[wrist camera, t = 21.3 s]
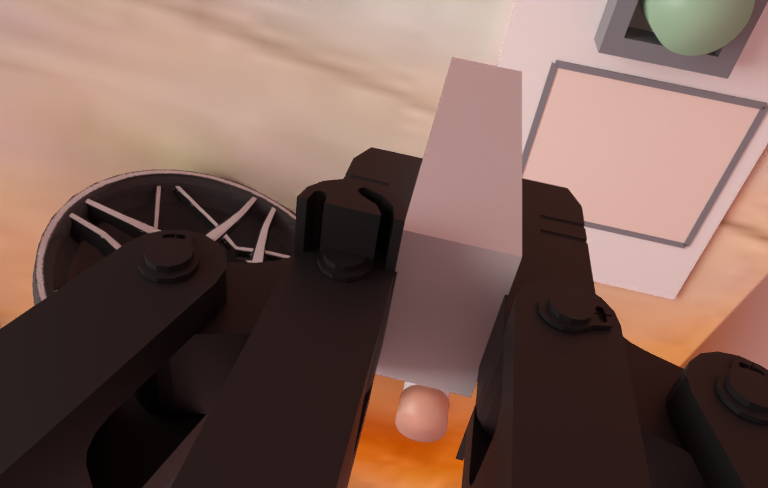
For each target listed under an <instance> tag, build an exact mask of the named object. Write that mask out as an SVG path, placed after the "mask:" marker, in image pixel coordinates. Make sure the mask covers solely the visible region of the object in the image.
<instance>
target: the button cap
mask: <svg viewBox="0 0 768 488" xmlns="http://www.w3.org/2000/svg"><path fill="white" fill-rule="evenodd" d="M754 3H755V0H640V7H641V10H642V13H643V15H644V17H645V19H646V20H647V22H648V23H649V25H650V27H651V28H652V30H653V32H654V33H655V35H656V36H657V38H658V40H659V41H660V42H661V43H662V45H663V46H665V47H666V48H667V49H669V50H670V51H672V52H674V53H677V54H680V55H686V56H697V55H703V54H708V53H710V52H713V51H716V50H718V49H720V48H722V47H723V46H725V45H726V44H728V43H729V42H731V41H732V40H733V39H734V38H735V37H736V36H737V35H738V34H739V33H740V32H741V31H742V30H743V28H744V27H745V26H746V24H747V22H748V20H749V19H750V16H751V14H752V11H753V8H754Z"/></svg>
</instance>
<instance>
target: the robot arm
mask: <svg viewBox="0 0 768 488" xmlns="http://www.w3.org/2000/svg"><path fill="white" fill-rule="evenodd" d="M584 225H585V223H584V217H583V210H582V206H581V205H580V203H579V202H578V201H577V199H576V198H575V197H574V196H573V194H572V193H571V192H570V190H569V189H568V188H565V187H560V186H556V185H551V184H546V183H542V182H537V181H533V180H528V179H524V178H522V71H517V70H512V69H507V68H502V67H497V66H493V65H488V64H483V63H478V62H473V61H468V60H464V59H459V58H454V57H452V60H451V63H450V67H449V70H448V74H447V77H446V81H445V84H444V88H443V91H442V94H441V98H440V101H439V105H438V108H437V112H436V115H435V119H434V122H433V126H432V129H431V133H430V136H429V139H428V143H427V146H426V150H425V153H424V157H423V159H422V158H418V157H413V156H409V155H404V154H399V153H395V152H390V151H386V150H381V149H377V148H372V147H371V148H370V149H368V150H366V151H365V152H363V153H361V154H360V155H358V156H357V157H355V158H354V159H353V161H352V163H351V165H350V167H349V169H348V171H347V173H346V176H345V177H344V179H339V180H329V181H322V182H319V183H317V184H314V185H312V186H309V187H307V188H306V189H305V190H304V191H303V192H302V193H301V194H300V195H299V196H297V207H296V223H295V240H294V251H293V253H292V255H291V257H288V258H285V259H281V260H277V261H272V262H258V263H243V262H227V256H226V254H225V253H224V251H223V249H222V248H221V246H220V244H219V243H217V242H216V241H214V240H212V239H211V238H209V237H208V236H206V235H204V234H200V233H196V232H192V231H188V230H162V231H157V232H152V233H147V234H144V235H142V236H140V237H138V238H135V239H133V240H131V241H129V242H127V243H126V244H124V245H123V246H121V247H120V248H118V249H117V250H115V251H114V252H112V253H111V254H109V255H108V256H107V257H105V258H104V259H102V260H101V261H99V262H98V263H96V264H95V265H93V266H92V267H90V268H89V269H88V270H86V271H85V272H83V273H82V274H80V275H79V276H77V277H76V278H74V279H73V280H71V281H70V282H69V283H67V284H66V285H64V286H63V287H61V288H60V289H58V290H57V291H55V292H54V293H53V294H51V295H50V296H48V297H47V298H45V299H44V300H42V301H41V302H39V303H38V304H36V305H35V306H34V307H32V308H31V309H29V310H28V311H26V312H25V313H23V314H22V315H20V316H19V317H17V318H16V319H15V320H13V321H12V322H10V323H9V324H7V325H6V326H4V327H3V328H1V329H0V488H165V486H166V485H167V484H168V483H169V482H170V481H171V479H172V478H173V477H174V476H175V475H176V473H177V472H178V471H179V470H180V471H179V473H178V474H177V476H176V478H175V480H174V482H173V484H172V486H171V488H347V486H348V482H349V478H350V474H351V471H352V467H353V463H354V459H355V455H356V451H357V447H358V443H359V439H360V436H361V432H362V428H363V424H364V420H365V416H366V412H367V408H368V404H369V400H370V395H371V390H372V385H373V380H374V376H375V374H377V375H381V376H385V377H390V378H394V379H398V380H402V381H406V382H410V383H414V384H418V385H422V386H426V387H430V388H434V389H439V390H443V391H447V392H451V393H455V394H459V395H463V396H467V397H471V396H472V393H473V391H474V388H475V385H476V382H477V380H478V384H477V397H476V405H475V407H474V410H473V413H472V415H471V418H470V421H469V423H468V426H467V429H466V431H465V434H464V437H463V439H462V442H461V445H460V447H459V450H458V453H457V456H456V459H459V460H463V459H464V467H463V478H462V488H768V370H767V369H765V368H763V367H762V366H760V365H758V364H756V363H754V362H751V361H749V360H747V359H745V358H742V357H740V356H736V355H732V354H727V353H722V352H710V353H701V354H699V355H698V356H697V357H695V358H694V359H692V360H691V361H690V362H689V363H688V365H687V366H686V367H685V369H683V368H681V367H679V366H676V365H674V364H672V363H670V362H668V361H666V360H664V359H662V358H659V357H657V356H655V355H653V354H651V353H649V352H647V351H645V350H643V349H641V348H639V347H638V346H636V345H634V344H632V343H631V342H629V341H628V340H627V339H625V338H624V337H623V335H622V330H621V325H620V323H619V321H618V319H617V316H616V314H615V312H614V311H613V310H612V309H611V308H610V307H609V305H608V304H607V303H606V302H605V301H604V300H603V299H602V298H601V297H599V296H597V295H596V294H595V288H594V281H593V275H592V268H591V262H590V256H589V249H588V243H586V241H587V236H586V230H585V228H584Z"/></svg>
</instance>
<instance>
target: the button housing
mask: <svg viewBox="0 0 768 488" xmlns="http://www.w3.org/2000/svg"><path fill="white" fill-rule="evenodd" d="M767 2H768V0H755V3H754V8H753V11H752V14H751V16H750V19H749V20H748V22H747V24H746V26H745V27H744V28H743V30H742V31H741V32H740V33H739V34H738V35H737V36H736V37H735V38H734V39H733V40H732V41H731V42H729V43H728V44H726V45H725V46H723V47H722V48H720V49H718V50H716V51H713V52H710V53H708V54H703V55H697V56H686V55H680V54H677V53H674V52H672V51H670V50H669V49H667V48H666V47H665V46H663V45H662V43H661V42H660V41H659V40H658V38H657V36H656V35H655V33H654V32H651V31H646V30H641V29H636V28H631V27H628V26H629V23H630V21H631V18H632V15H633V13H634V10H635V8H636V5H637V3H638V0H608V1H607V4H606V6H605V9H604V12H603V15H602V18H601V20H600V23H599V26H598V29H597V32H596V35H595V37H594V41H595V44H596V47H597V50H598V53H603V54H608V55H613V56H618V57H623V58H628V59H633V60H638V61H642V62H647V63H652V64H657V65H662V66H667V67H672V68H677V69H682V70H687V71H692V72H697V73H702V74H707V75H712V76H717V77H721V78H726V79H728V78H729V76H730V74H731V72H732V70H733V68H734V66H735V64H736V62H737V60H738V59H739V57H740V55H741V53H742V51H743V49H744V47H745V45H746V43H747V41H748V39H749V37H750V35H751V33H752V31H753V29H754V28H755V26H756V24H757V22H758V20H759V18H760V16H761V14H762V12H763V10H764V8H765V6H766V4H767Z"/></svg>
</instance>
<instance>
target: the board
mask: <svg viewBox="0 0 768 488" xmlns="http://www.w3.org/2000/svg"><path fill="white" fill-rule="evenodd" d="M607 1H608V0H514V2H513V6H512V10H511V14H510V18H509V21H508V25H507V29H506V33H505V37H504V40H503V44H502V48H501V52H500V56H499V59H498V63H497V67H502V68H507V69H512V70H517V71H522V178H524V179H528V180H533V181H537V182H542V183H546V184H551V185H556V186H560V187H565V188H568V189H569V190H570V192H571V193H572V194H573V196H574V197H575V198H576V199H577V201H578V202H579V203H580V205H581V206H582V210H583V217H584V223H585V225H584V228H585V230H586V236H587V241H586V243H588V249H589V256H590V262H591V268H592V275H593V281H594V282H598V283H602V284H607V285H611V286H615V287H620V288H624V289H628V290H633V291H637V292H642V293H646V294H650V295H655V296H659V297H664V298H668V299H672V300H674V299H675V297H676V296H677V294H678V292H679V291H680V289H681V287H682V285H683V284H684V282H685V280H686V279H687V277H688V275H689V274H690V272H691V270H692V269H693V267H694V265H695V264H696V262H697V260H698V259H699V257H700V255H701V254H702V252H703V250H704V249H705V247H706V245H707V244H708V242H709V240H710V239H711V237H712V235H713V234H714V232H715V230H716V229H717V227H718V225H719V224H720V222H721V220H722V219H723V217H724V215H725V214H726V212H727V210H728V209H729V207H730V205H731V204H732V202H733V200H734V199H735V197H736V195H737V194H738V192H739V190H740V189H741V187H742V185H743V184H744V182H745V180H746V179H747V177H748V175H749V174H750V172H751V170H752V169H753V167H754V165H755V164H756V162H757V160H758V159H759V157H760V155H761V154H762V152H763V150H764V149H765V147H766V145H767V144H768V2H767V4H766V6H765V8H764V10H763V12H762V14H761V16H760V18H759V20H758V22H757V24H756V26H755V28H754V29H753V31H752V33H751V35H750V37H749V39H748V41H747V43H746V45H745V47H744V49H743V51H742V53H741V55H740V57H739V59H738V60H737V62H736V64H735V66H734V68H733V70H732V72H731V74H730V76H729V78H728V79H726V78H721V77H717V76H712V75H707V74H702V73H697V72H692V71H687V70H682V69H677V68H672V67H667V66H662V65H657V64H652V63H647V62H642V61H638V60H633V59H628V58H623V57H618V56H613V55H608V54H603V53H598V50H597V47H596V44H595V41H594V37H595V35H596V32H597V29H598V26H599V23H600V20H601V18H602V15H603V12H604V9H605V6H606V4H607ZM628 27H631V28H636V29H641V30H646V31H651V32H653V30H652V28H651V27H650V25H649V23H648V22H647V20H646V19H645V17H644V15H643V13H642V10H641V7H640V0H638V3H637V5H636V8H635V10H634V13H633V15H632V18H631V21H630V23H629V26H628Z"/></svg>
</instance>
